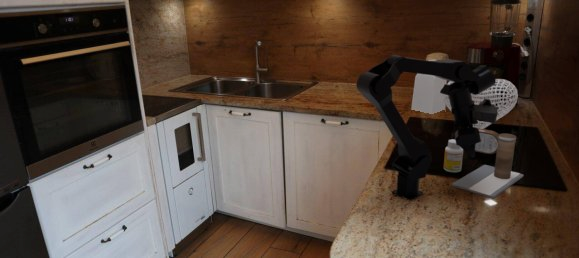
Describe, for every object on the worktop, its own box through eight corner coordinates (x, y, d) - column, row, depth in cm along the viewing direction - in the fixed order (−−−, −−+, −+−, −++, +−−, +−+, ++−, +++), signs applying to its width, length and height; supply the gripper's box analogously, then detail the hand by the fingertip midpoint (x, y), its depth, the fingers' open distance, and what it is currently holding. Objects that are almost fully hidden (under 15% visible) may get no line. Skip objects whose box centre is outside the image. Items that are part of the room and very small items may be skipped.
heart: (510, 128, 177) (517, 77, 171) (514, 139, 163) (522, 83, 157) (440, 123, 187) (445, 74, 181) (439, 132, 173) (443, 80, 167)
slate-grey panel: (493, 198, 115) (493, 196, 114) (451, 185, 123) (451, 183, 123) (523, 176, 129) (523, 174, 128) (484, 166, 137) (484, 164, 137)
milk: (424, 108, 213) (428, 57, 206) (445, 112, 205) (450, 59, 198) (410, 112, 206) (414, 60, 199) (431, 117, 198) (435, 62, 190)
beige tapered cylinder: (509, 180, 124) (515, 138, 121) (492, 177, 127) (498, 136, 123) (510, 175, 128) (516, 134, 124) (494, 172, 130) (499, 132, 127)
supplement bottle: (446, 165, 139) (449, 137, 136) (463, 168, 135) (466, 140, 133) (440, 170, 135) (443, 141, 132) (457, 174, 131) (460, 144, 129)
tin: (501, 154, 147) (504, 132, 145) (498, 157, 145) (501, 134, 143) (458, 146, 157) (461, 124, 155) (455, 148, 155) (457, 126, 153)
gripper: (496, 111, 105) (506, 162, 111) (489, 82, 121) (498, 128, 127) (450, 120, 110) (461, 168, 116) (449, 90, 125) (459, 134, 131)
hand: (471, 148), depth 122 cm, fingers open, 9 cm apart
